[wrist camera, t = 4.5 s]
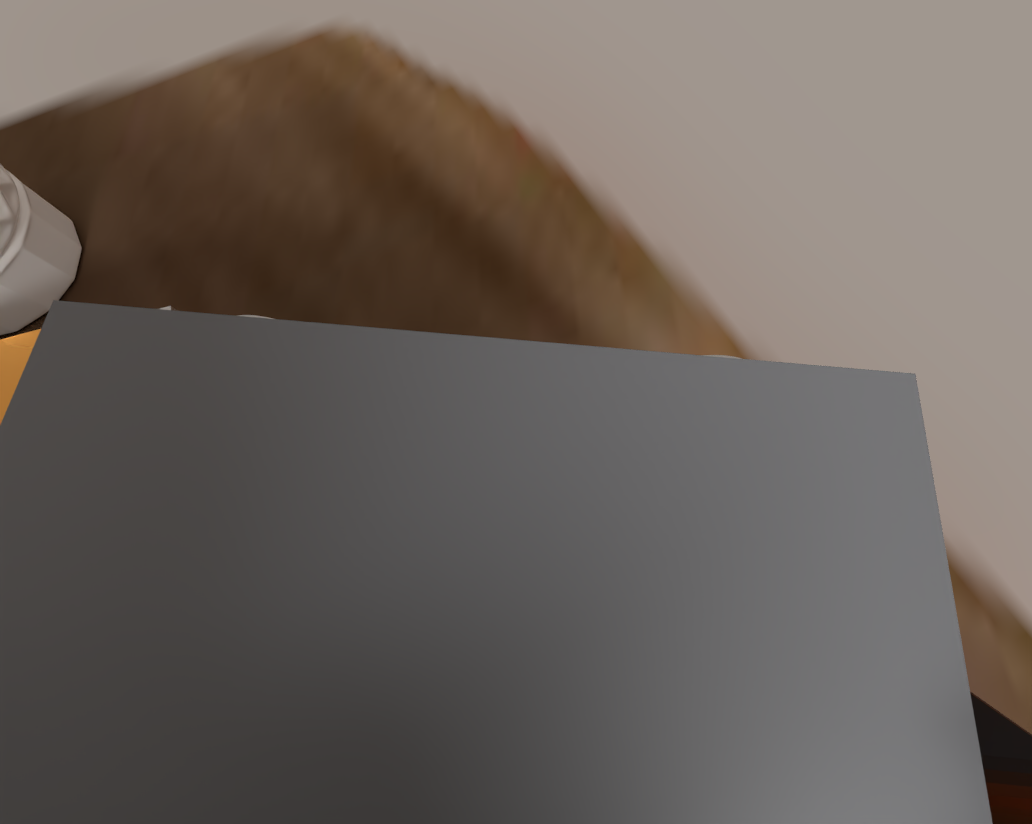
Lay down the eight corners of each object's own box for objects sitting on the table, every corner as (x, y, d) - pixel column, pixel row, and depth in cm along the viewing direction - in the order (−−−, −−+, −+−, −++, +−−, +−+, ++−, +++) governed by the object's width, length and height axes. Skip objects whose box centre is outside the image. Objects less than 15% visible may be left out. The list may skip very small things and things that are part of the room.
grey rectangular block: (585, 592, 15) (1012, 942, 2) (410, 576, 15) (-166, 816, 2) (589, 494, 16) (907, 334, 3) (424, 479, 16) (69, 262, 3)
